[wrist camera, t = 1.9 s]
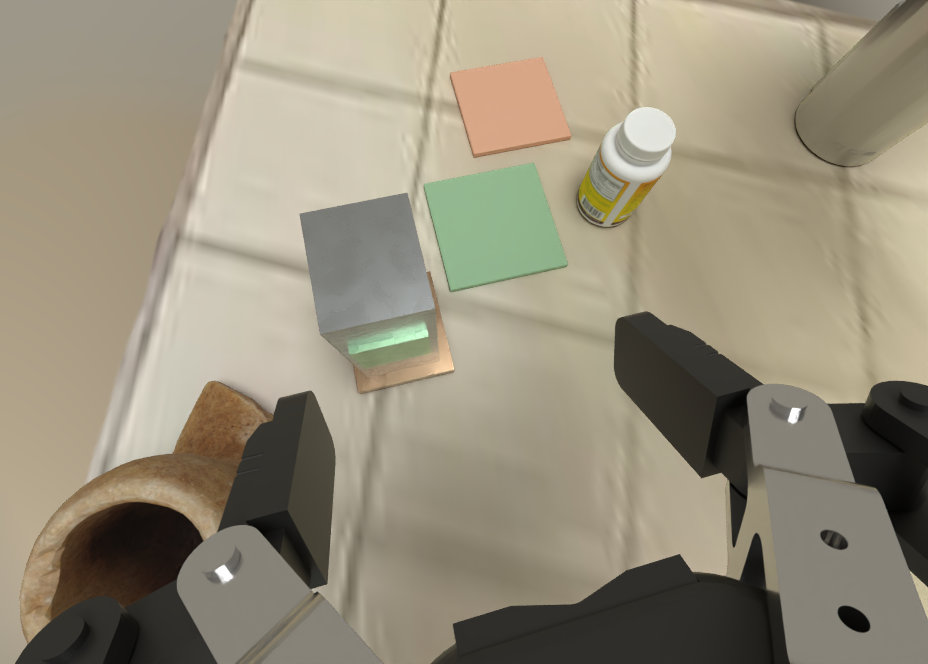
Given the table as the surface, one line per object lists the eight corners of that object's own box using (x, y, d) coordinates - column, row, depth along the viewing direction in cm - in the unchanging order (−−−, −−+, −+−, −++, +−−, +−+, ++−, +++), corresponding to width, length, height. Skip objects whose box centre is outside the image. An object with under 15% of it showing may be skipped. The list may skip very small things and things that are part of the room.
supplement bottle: (633, 183, 43) (689, 104, 33) (629, 234, 41) (686, 166, 31) (577, 173, 43) (616, 91, 33) (571, 223, 41) (610, 153, 31)
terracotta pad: (450, 76, 45) (450, 72, 45) (541, 61, 46) (542, 56, 46) (473, 157, 43) (474, 154, 42) (569, 139, 44) (571, 135, 43)
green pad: (424, 187, 42) (423, 184, 41) (533, 165, 43) (534, 162, 42) (450, 292, 39) (450, 290, 39) (566, 266, 40) (567, 264, 40)
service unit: (342, 295, 39) (278, 201, 24) (430, 276, 39) (420, 174, 25) (361, 394, 36) (303, 357, 22) (453, 372, 37) (458, 322, 23)
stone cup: (274, 628, 32) (131, 778, 17) (127, 573, 32) (-132, 673, 18) (354, 428, 36) (291, 414, 21) (221, 381, 36) (71, 336, 22)
